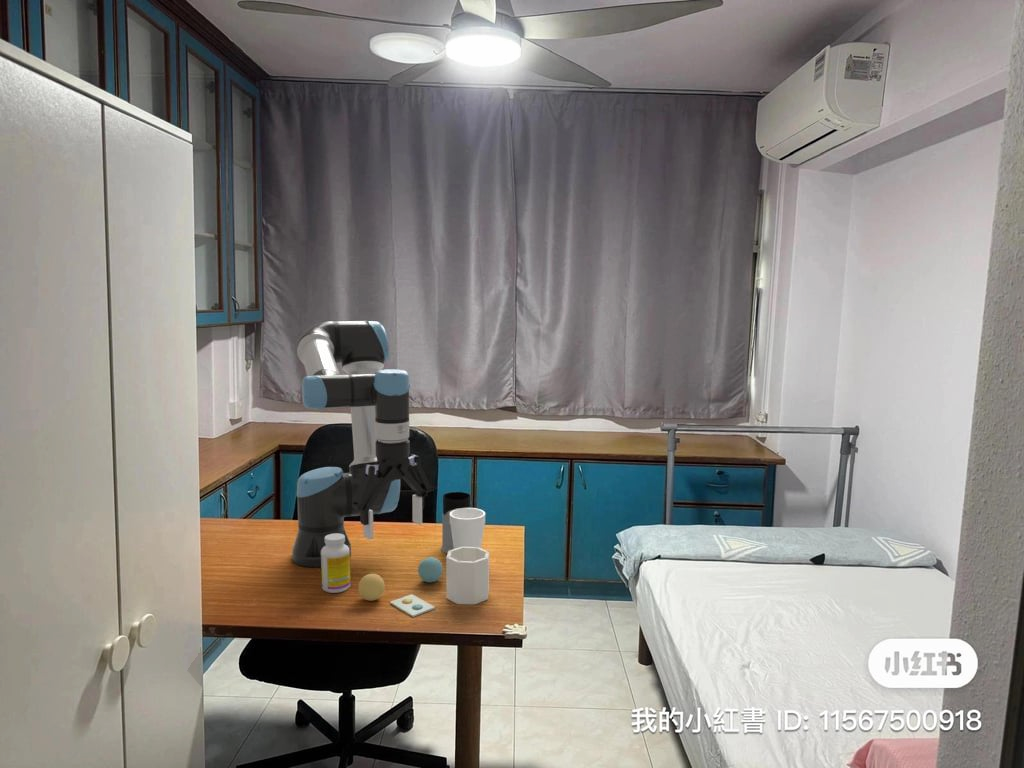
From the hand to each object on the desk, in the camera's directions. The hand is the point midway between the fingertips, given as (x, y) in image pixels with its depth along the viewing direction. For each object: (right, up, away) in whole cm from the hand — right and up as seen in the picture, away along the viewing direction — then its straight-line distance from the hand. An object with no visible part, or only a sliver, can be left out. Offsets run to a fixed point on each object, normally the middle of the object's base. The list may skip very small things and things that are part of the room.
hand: (393, 530), depth 162 cm
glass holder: (+11, -12, +37) cm, 40 cm away
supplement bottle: (-15, -16, +8) cm, 23 cm away
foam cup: (+15, -14, +25) cm, 33 cm away
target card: (+4, -17, -1) cm, 18 cm away
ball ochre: (-5, -16, +2) cm, 17 cm away
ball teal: (+7, -15, +12) cm, 21 cm away
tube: (+17, -16, +5) cm, 24 cm away
